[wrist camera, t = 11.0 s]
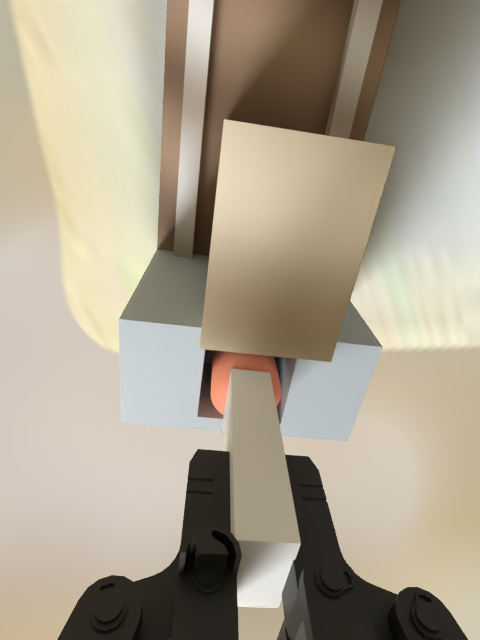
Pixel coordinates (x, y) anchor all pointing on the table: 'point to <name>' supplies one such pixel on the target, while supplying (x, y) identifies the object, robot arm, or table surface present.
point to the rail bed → (258, 88)
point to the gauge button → (241, 361)
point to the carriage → (288, 238)
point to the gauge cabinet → (196, 364)
